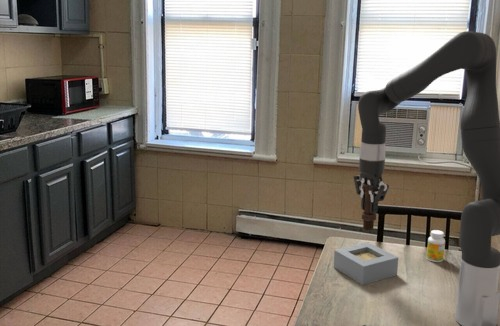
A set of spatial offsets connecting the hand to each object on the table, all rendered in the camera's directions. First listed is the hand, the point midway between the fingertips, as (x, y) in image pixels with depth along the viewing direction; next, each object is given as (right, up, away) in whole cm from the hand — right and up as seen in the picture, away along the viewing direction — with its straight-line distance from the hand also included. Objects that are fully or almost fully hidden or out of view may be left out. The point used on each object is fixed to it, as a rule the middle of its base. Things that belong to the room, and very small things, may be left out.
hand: (368, 210), depth 163 cm
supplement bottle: (+25, -18, +14) cm, 34 cm away
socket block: (0, -20, +5) cm, 20 cm away
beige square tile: (0, -17, +4) cm, 17 cm away
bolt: (0, -6, +2) cm, 6 cm away
